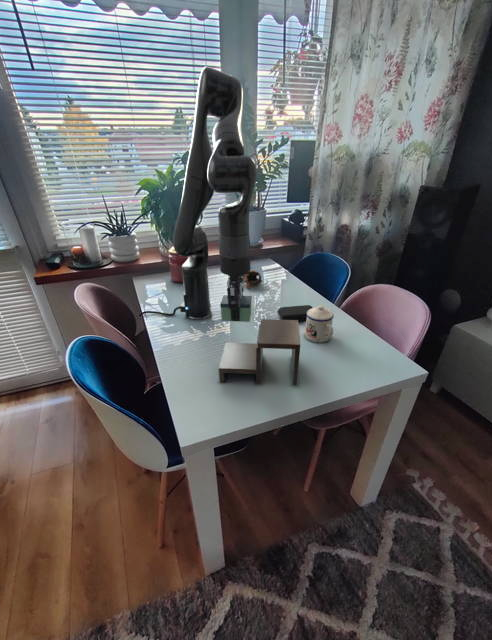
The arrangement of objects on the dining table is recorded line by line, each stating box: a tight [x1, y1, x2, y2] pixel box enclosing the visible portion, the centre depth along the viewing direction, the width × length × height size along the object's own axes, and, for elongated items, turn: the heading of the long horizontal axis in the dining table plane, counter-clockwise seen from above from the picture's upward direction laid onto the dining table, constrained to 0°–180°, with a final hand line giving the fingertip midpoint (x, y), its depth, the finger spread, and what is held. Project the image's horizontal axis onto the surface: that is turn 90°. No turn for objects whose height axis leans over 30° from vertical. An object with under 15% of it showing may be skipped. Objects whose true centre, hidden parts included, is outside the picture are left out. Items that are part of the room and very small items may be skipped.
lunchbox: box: [219, 294, 253, 323], centre depth 87 cm, size 8×6×5 cm
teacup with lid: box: [304, 304, 335, 343], centre depth 110 cm, size 12×9×12 cm
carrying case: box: [277, 304, 314, 322], centre depth 126 cm, size 11×3×15 cm
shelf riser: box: [218, 318, 301, 386], centre depth 94 cm, size 22×14×14 cm, turn 86°
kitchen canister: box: [167, 245, 189, 283], centre depth 159 cm, size 13×13×18 cm
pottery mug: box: [243, 270, 263, 290], centre depth 154 cm, size 12×10×8 cm
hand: (236, 314), depth 88 cm, fingers closed on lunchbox, 5 cm apart
